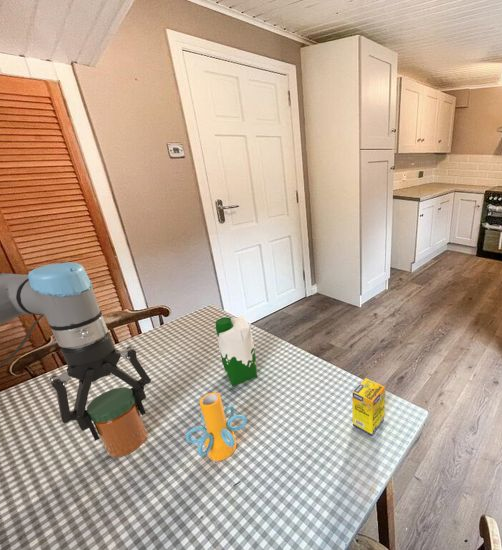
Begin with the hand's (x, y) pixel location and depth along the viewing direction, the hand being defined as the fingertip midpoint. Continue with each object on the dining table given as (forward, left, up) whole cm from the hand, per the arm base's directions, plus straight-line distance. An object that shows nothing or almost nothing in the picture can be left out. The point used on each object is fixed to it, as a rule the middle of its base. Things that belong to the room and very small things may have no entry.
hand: (119, 423), depth 69 cm
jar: (0, 0, -6) cm, 6 cm away
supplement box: (+34, +46, -6) cm, 58 cm away
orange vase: (+17, +16, -6) cm, 24 cm away
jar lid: (0, 0, +6) cm, 6 cm away
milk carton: (-5, +29, -6) cm, 30 cm away
